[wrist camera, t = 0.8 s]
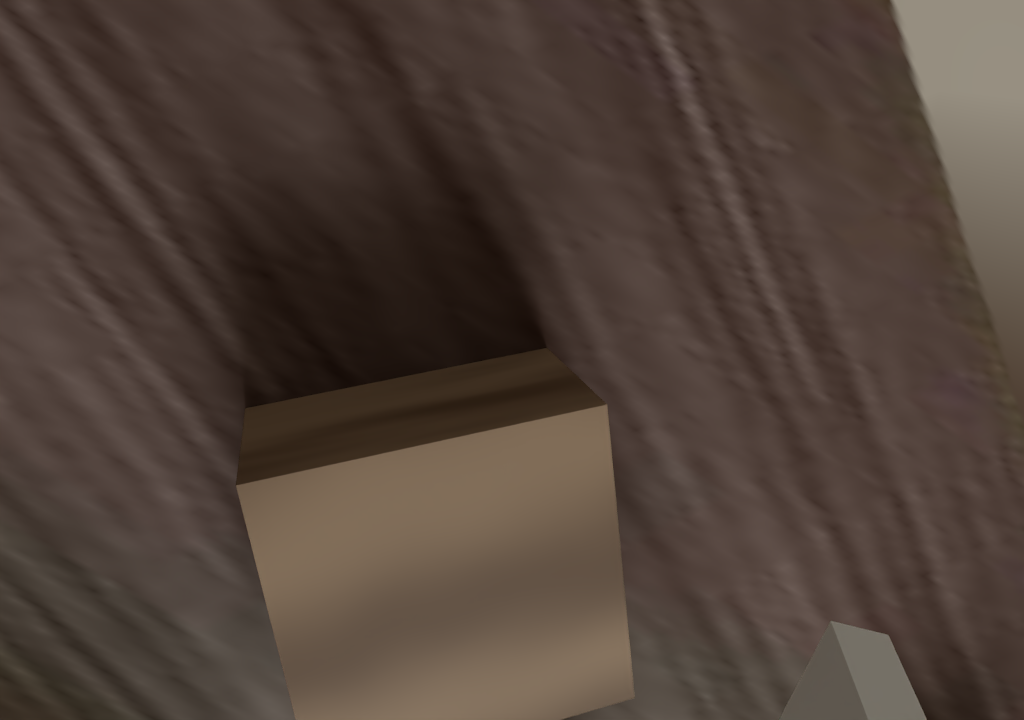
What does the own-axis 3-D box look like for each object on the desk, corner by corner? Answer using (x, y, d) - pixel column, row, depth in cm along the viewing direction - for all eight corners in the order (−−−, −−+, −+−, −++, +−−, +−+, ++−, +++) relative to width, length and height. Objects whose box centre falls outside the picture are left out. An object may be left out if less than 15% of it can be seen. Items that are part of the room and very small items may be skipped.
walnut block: (245, 406, 27) (235, 485, 21) (545, 346, 29) (607, 404, 23) (308, 664, 30) (314, 792, 25) (573, 594, 32) (634, 697, 27)
